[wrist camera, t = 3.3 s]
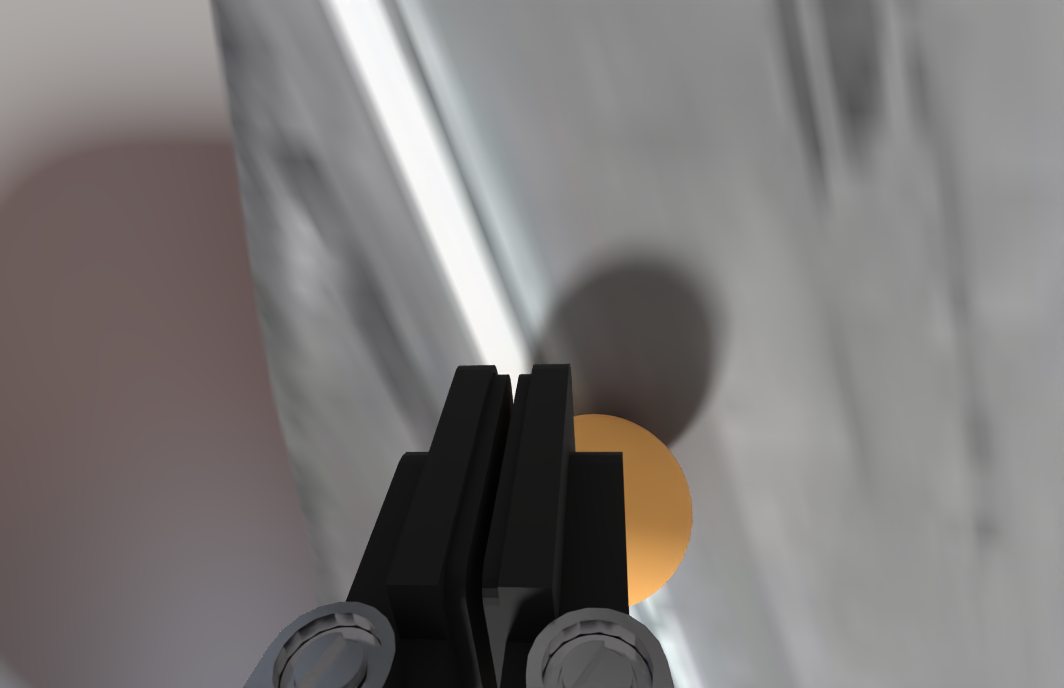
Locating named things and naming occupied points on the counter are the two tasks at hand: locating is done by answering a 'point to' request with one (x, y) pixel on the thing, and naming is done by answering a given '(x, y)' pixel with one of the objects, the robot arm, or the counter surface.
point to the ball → (644, 499)
